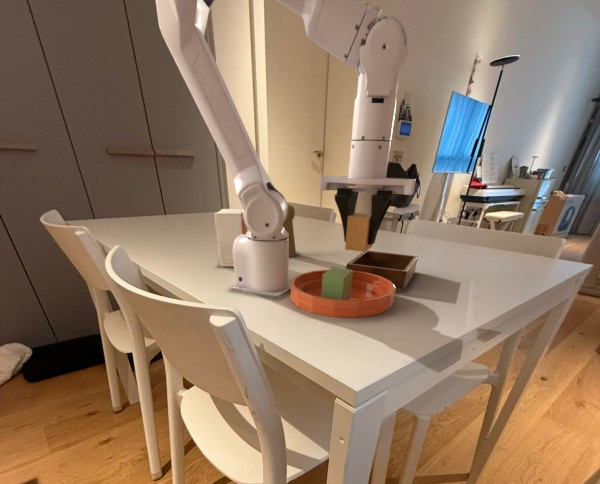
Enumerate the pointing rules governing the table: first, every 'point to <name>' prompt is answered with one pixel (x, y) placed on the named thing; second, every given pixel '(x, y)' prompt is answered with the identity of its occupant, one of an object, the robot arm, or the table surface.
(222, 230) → the small box
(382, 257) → the holder
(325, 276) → the green block
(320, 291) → the orange round tray
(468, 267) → the table surface
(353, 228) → the light brown block
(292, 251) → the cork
